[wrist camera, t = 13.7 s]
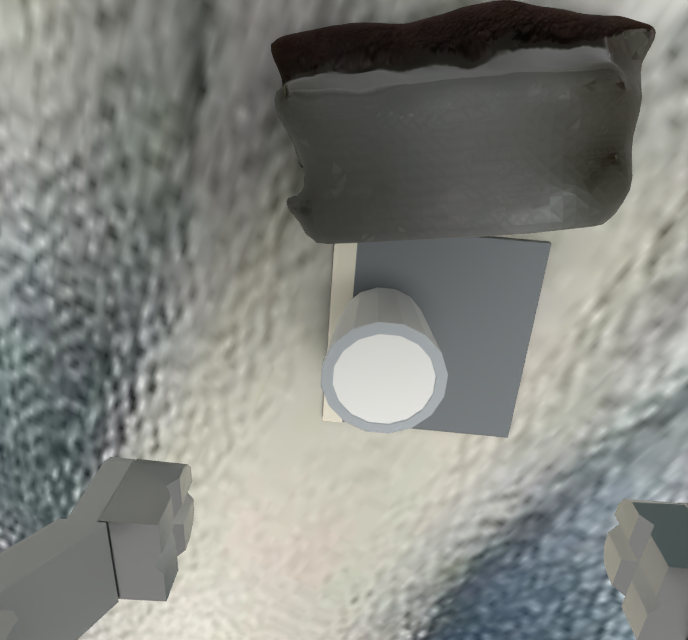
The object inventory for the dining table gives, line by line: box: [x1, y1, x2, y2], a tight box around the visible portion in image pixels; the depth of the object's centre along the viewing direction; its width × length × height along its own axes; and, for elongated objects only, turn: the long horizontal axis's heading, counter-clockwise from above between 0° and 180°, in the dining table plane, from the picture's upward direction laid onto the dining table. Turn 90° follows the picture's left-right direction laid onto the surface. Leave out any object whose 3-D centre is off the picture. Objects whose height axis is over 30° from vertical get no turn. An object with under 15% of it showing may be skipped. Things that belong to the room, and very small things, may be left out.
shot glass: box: [321, 287, 448, 433], centre depth 34 cm, size 7×7×7 cm
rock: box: [271, 0, 656, 244], centre depth 29 cm, size 18×11×8 cm, turn 96°
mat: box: [322, 236, 551, 438], centre depth 37 cm, size 14×13×1 cm
